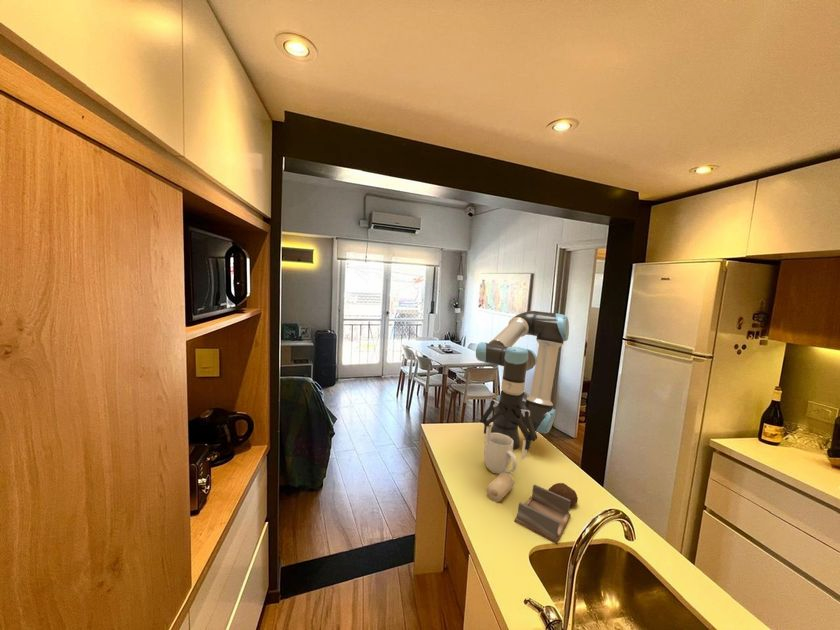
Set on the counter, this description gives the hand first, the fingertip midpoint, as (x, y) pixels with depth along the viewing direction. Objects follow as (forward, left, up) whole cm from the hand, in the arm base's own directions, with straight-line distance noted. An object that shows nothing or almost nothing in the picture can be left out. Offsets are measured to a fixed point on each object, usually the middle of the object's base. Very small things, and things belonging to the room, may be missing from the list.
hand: (504, 450), depth 118 cm
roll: (0, 0, -17) cm, 17 cm away
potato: (-12, +18, -17) cm, 28 cm away
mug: (-14, -7, -17) cm, 23 cm away
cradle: (+2, +16, -16) cm, 23 cm away
